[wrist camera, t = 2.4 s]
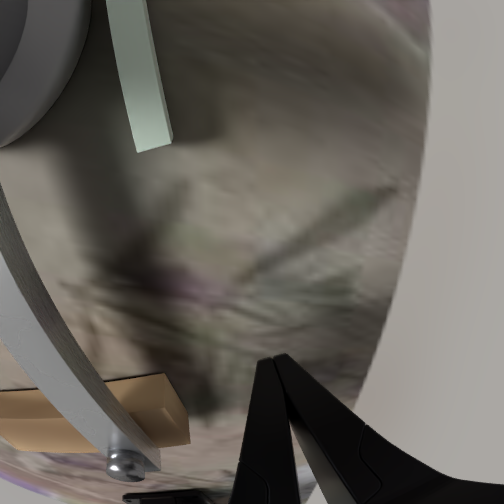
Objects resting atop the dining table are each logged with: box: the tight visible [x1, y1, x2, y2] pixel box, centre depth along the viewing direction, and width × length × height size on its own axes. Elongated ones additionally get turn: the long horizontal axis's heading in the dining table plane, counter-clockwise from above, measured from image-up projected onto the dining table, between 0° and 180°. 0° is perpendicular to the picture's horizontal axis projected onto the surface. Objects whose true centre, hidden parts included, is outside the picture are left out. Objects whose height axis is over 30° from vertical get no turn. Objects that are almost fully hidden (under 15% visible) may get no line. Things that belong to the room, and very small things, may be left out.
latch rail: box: [0, 373, 191, 453], centre depth 11 cm, size 3×10×2 cm, turn 100°
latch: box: [0, 183, 161, 482], centre depth 7 cm, size 13×2×2 cm, turn 10°
